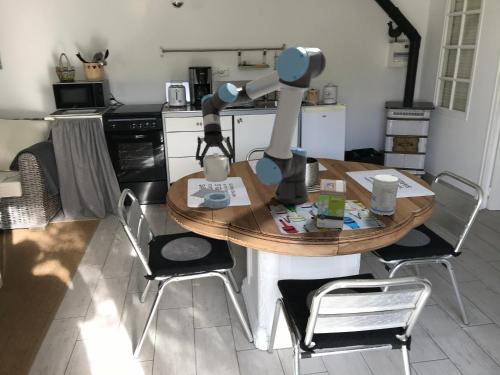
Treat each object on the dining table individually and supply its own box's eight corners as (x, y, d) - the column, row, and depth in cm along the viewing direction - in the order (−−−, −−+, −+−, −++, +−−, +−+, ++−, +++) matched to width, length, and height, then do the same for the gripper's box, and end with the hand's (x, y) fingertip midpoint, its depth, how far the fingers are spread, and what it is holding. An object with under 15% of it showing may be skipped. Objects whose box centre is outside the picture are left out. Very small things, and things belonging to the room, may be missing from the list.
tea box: (343, 229, 153) (346, 191, 148) (316, 227, 155) (318, 189, 150) (343, 214, 167) (346, 179, 162) (318, 212, 169) (320, 177, 164)
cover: (228, 175, 177) (228, 151, 174) (225, 182, 169) (225, 156, 166) (207, 175, 178) (206, 151, 175) (203, 181, 170) (202, 156, 166)
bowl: (234, 202, 180) (234, 194, 178) (222, 210, 170) (222, 202, 169) (212, 198, 184) (212, 191, 183) (199, 206, 174) (199, 198, 173)
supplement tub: (366, 208, 174) (369, 174, 169) (388, 207, 175) (392, 173, 170) (375, 216, 165) (379, 181, 160) (398, 216, 165) (403, 180, 161)
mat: (226, 192, 192) (226, 191, 192) (213, 200, 182) (213, 199, 182) (203, 188, 197) (203, 187, 197) (190, 196, 187) (190, 195, 187)
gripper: (236, 131, 184) (242, 176, 175) (186, 133, 181) (190, 178, 171) (238, 121, 178) (244, 167, 168) (186, 123, 174) (190, 170, 164)
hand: (217, 173), depth 169 cm, fingers closed on cover, 9 cm apart
